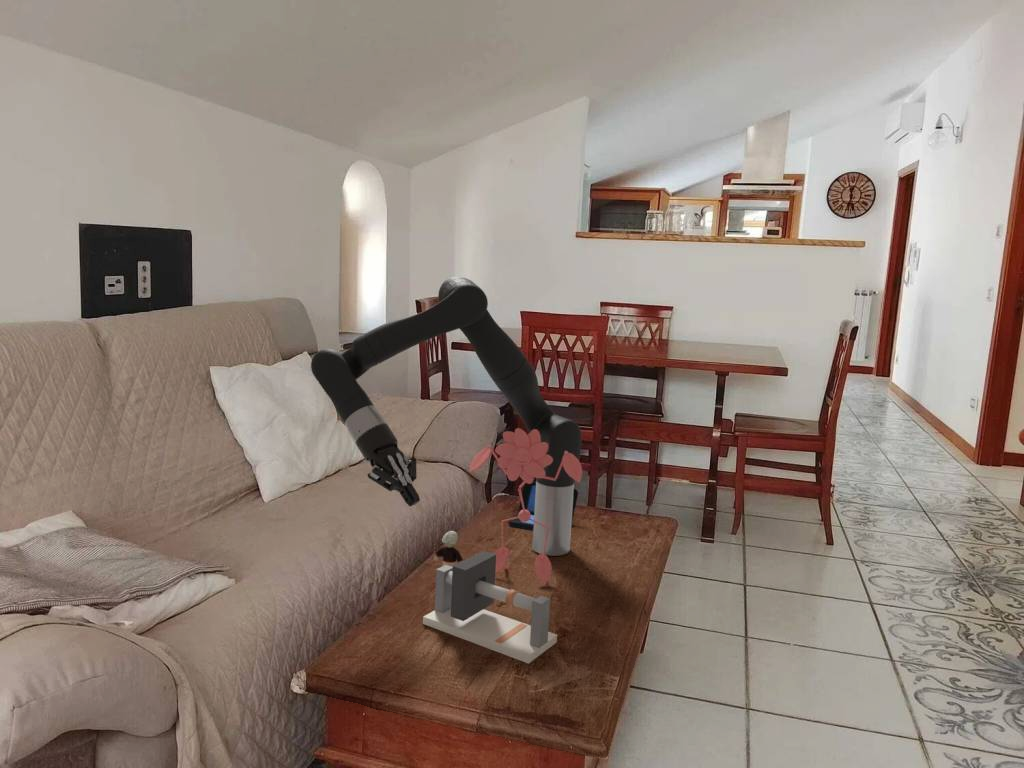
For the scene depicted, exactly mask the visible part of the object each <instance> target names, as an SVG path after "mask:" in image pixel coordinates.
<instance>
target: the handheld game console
mask: <svg viewBox="0 0 1024 768" xmlns="http://www.w3.org/2000/svg"><path fill="white" fill-rule="evenodd" d="M521 493H522V498H523V503H524V508H525V510H528V511H529V512H530V515H531V517H530V518H531V519H533V520H534V512H535V495H536V481H533V482H532V483H531V484H528V483H525V484H524V486H523V487H522V491H521ZM578 496H579V491H578V489H576V488H574V492H573V508H572V523H571V526H573V523H574V515H575V510H576V506H577V501H578ZM521 510H523V507H522V503H521V500H520V501H519V506H518V509H517V512H516V513H515V514H514V515H513V516H512V517H511V518H514V517H518V516H519V512H520V511H521ZM508 524H509V526H511V527H515V528H521V529H527V530H532V531H533V528H534V522H533V521H531V520H528V521H527V522H522V521H521V520H520V519H519V518H517V519H512V520H508Z"/></svg>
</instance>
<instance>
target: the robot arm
mask: <svg viewBox="0 0 1024 768" xmlns="http://www.w3.org/2000/svg"><path fill="white" fill-rule="evenodd" d="M437 298H438V303H436V304H434V305H433V306H431V307H429V308H428V309H426V310H423V311H422V312H419V313H416V314H413V315H410V316H407V317H402V318H399V319H395V320H392V321H389V322H387V323H384V324H382V325H379V326H377V327H374V328H373V329H371V330H369V331H367V332H365V333H363V334H361V335H360V336H357V337H356V338H355V339H354V340H353V341H352V343H351V346H350V348H348V349H347V350H345V351H344V352H343V353H340V352H339V351H337V350H335V349H331V348H323V349H320V350H319V351H317V352H316V353H315V354H314V355H313V357H312V359H311V362H310V369H311V373H312V374H313V376H314V378H315V379H316V382H318V384H319V385H320V386H321V388H322V390H323V391H324V392H325V394H326V395H327V396H328V398H329V399H330V401H331V402H332V404H333V406H334V408H335V411H336V413H337V414H338V415H339V417H340V419H341V420H342V422H343V424H344V425H345V427H346V429H347V431H348V432H347V433H348V434H349V435H350V437H351V439H352V440H353V443H355V446H356V447H357V449H358V450H359V452H360V453H361V455H362V457H363V458H364V460H365V461H366V462H369V463H370V466H371V470H370V471H369V473H367V478H368V479H370V480H372V481H373V482H375V483H376V484H378V485H380V486H381V487H382V488H384V489H386V490H387V491H389V492H393V491H396V492H398V493H399V494H400V496H401V497H402V499H403V500H404V502H405V504H407V505H408V507H413V506H415V505H418V503H419V502H420V501H421V498H420V495H419V494H418V492H417V490H416V488H415V487H414V485H413V482H415V480H417V477H418V476H417V458H416V457H415V456H411V457H407V456H405V454H404V452H403V451H402V450H401V449H400V448H399V447H398V443H399V440H398V438H397V436H396V435H395V434H394V432H393V431H392V430H391V427H390V426H389V425H388V423H387V421H386V420H385V419H384V417H383V415H382V414H381V413H380V411H379V410H378V409H377V408H376V406H375V405H374V403H373V402H372V400H371V398H370V397H369V395H368V394H367V392H366V391H365V390H364V389H363V388H362V386H361V385H360V384H359V382H358V381H357V380H358V379H359V378H360V377H361V376H363V375H365V374H366V373H367V372H368V371H369V370H370V369H371V368H373V367H376V366H377V365H379V364H381V363H383V362H385V361H387V360H389V359H391V358H393V357H395V356H397V355H398V354H401V353H403V352H404V351H407V350H409V349H411V348H412V347H415V346H417V345H419V344H421V343H424V342H426V341H429V340H430V339H434V338H436V337H439V336H442V335H444V334H446V333H450V332H452V331H457V330H460V331H461V332H462V334H463V335H464V336H465V338H467V340H468V341H469V344H471V346H472V349H473V350H474V352H475V354H476V356H477V358H478V359H479V362H480V364H482V365H483V367H484V369H485V371H486V372H487V373H488V376H489V377H490V378H491V380H492V381H493V382H494V384H495V385H496V387H497V388H498V389H499V391H500V392H501V393H502V395H504V397H505V398H506V400H507V401H508V402H509V404H510V405H511V407H512V408H513V409H514V410H515V411H516V413H517V414H518V415H519V417H520V419H521V421H522V423H523V424H524V425H525V428H526V429H527V431H528V434H529V433H530V432H531V431H532V430H533V429H537V430H538V431H539V433H540V436H541V442H546V443H547V444H548V450H547V454H548V455H550V456H551V457H552V458H553V462H552V463H551V464H550V465H548V466H545V467H542V468H543V469H544V470H545V474H546V475H545V476H547V477H551V478H555V476H556V474H557V471H558V469H559V466H560V464H561V462H562V457H563V456H564V452H565V451H568V453H571V454H573V455H574V456H575V457H576V458H577V459H578V460H579V462H580V460H581V450H582V442H583V440H582V439H583V437H582V431H581V427H580V426H579V424H578V423H577V422H576V421H574V420H571V419H569V418H566V417H563V416H560V415H558V414H556V413H555V412H554V411H553V409H552V408H551V406H549V405H548V403H547V402H546V400H544V398H543V396H542V394H541V392H540V387H539V386H540V385H539V382H538V381H539V380H538V376H537V373H536V371H535V369H534V367H533V365H532V364H531V362H530V361H529V360H528V358H527V357H526V355H525V354H524V353H523V351H522V350H521V349H520V347H519V346H518V345H517V344H516V343H515V342H514V340H513V339H512V338H511V337H510V336H509V335H508V334H507V333H506V332H505V330H504V329H502V328H501V327H500V325H499V324H498V323H497V321H496V320H494V318H493V317H492V315H491V313H490V312H489V311H488V306H489V303H488V297H487V295H486V293H485V291H483V289H482V288H481V287H480V286H479V285H478V284H476V283H474V281H473V280H470V279H469V278H466V277H463V276H451V277H449V278H447V279H446V280H444V281H443V282H442V284H441V285H440V287H439V290H438V297H437ZM535 480H536V481H535V482H536V495H535V512H534V520H535V521H537V522H539V523H541V524H543V525H545V526H547V527H549V532H548V537H547V543H546V548H545V553H544V554H545V555H546V556H553V557H554V556H555V557H556V556H563V555H567V554H569V552H570V550H571V538H572V537H571V536H572V535H571V533H572V525H571V523H572V519H573V518H572V508H573V492H574V489H575V480H574V479H573V478H571V477H570V476H569V475H568V474H567V473H566V471H565V470H564V467H563V465H562V468H561V470H560V473H559V475H558V477H557V479H556V481H554V480H549V479H544V478H536V479H535ZM572 524H573V523H572ZM547 529H548V528H546V527H544V526H541V525H539V524H537V523H535V522H534V528H533V530H532V544H531V545H532V546H531V547H532V550H533V551H534V552H535V553H537V554H541V555H542V553H543V549H544V544H545V539H546V534H547Z"/></svg>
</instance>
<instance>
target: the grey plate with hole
mask: <svg viewBox="0 0 1024 768" xmlns="http://www.w3.org/2000/svg"><path fill="white" fill-rule="evenodd" d="M495 569H496V554H494V553H492V552H489V551H485V550H483V551H481V552H478V553H477V554H474V555H473V556H471V557H468V558H466V559H465V560H464V559H463V561H462V562H460V563H458V562H457V564H456V565H454V566H453V571H452V595H451V617H453V618H456V619H459V620H461V621H465V620H466V619H468V618H470V617H471V616H473V615H475V614H476V613H478V612H480V611H481V610H483V609H484V610H486V609H487V608H489V607H490V606H491V605H493V604H494V603H495V599H493V598H490V597H487V596H484V595H481V594H478V593H475V581H477V580H480V581H484V582H487V583H490V584H493V585H496V582H495V581H496V574H495Z"/></svg>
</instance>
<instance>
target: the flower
mask: <svg viewBox="0 0 1024 768" xmlns="http://www.w3.org/2000/svg"><path fill="white" fill-rule="evenodd" d="M502 438H503V441H504V442H505V443H500V444H499V445H497V446H496V448H495V449H493V446H492V445H488V446H487V447H484V448H483V449H482V450H480V451H479V452H478V453H477V454H476V455H475V456H474V458H473V460H472V461H471V464H470V465H469V466H470V467H469V473H470V474H471V473H473V472H475V471H476V470H478V469H480V468H481V467H482V466H483V465H484V464H486V462H487V461H488V459H489V458H490V456H491V454H492V455H493V457H494V459H495V460H496V461H497V466H498V467H499V468H501V469H502V470H503V472H504V474H505V476H506V477H507V478H508V480H509V481H510V482H514V481H517V480H518V478H519V477H520V478H521V479H522V481H523V482H522V483H521V484H520V485H519V486H518V489H517V491H518V495H519V499H520V501H521V503H522V507H523V510H521V511H520V512H519V516H518V517H514V518H512V517H511V518H507V519H503V520H501V525H500V526H501V527H500V528H501V546H500V547H499V548H497V549H496V550H495V551H494V552H493V554H496V569H495V575H496V574H497V573H499V572H500V571H501V570H503V568H504V569H505V570H508V566H507V564H508V563H507V562H508V559H509V554H510V551H509V549H508V547H506V546H504V522H507V521H508V522H509V520H512V519H517V518H519V519H520V520H521V521H522V522H527V521H528V520H531V521H533V522H535V523H537V524H539V525H541V526H544V527H546V528H548V529H547V534H546V539H545V544H544V549H543V553H542V554H540V553H538V555H537V556H536V558H535V562H534V571H535V574H536V576H538V578H539V579H540V581H541V582H542V583H543V584H544V585H546V584H547V583H548V581H549V579H550V577H551V574H552V563H551V561H550V559H549V557H548V555H545V554H544V553H545V548H546V543H547V537H548V532H549V527H547V526H545V525H543V524H541V523H539V522H537V521H535V520H533V519H531V518H530V517H531V515H530V512H529V511H528V510H525V508H524V503H523V498H522V489H523V488H524V484H525V483H528V484H531V483H532V482H534V480H535V478H544V479H549V480H554V481H556V479H557V477H558V475H559V473H560V470H561V468H562V465H563V467H564V470H565V471H566V473H567V474H568V475H569V476H570V477H571V478H573V479H574V481H575V482H577V483H581V482H582V476H583V467H582V464H581V462H580V461H579V460H578V459H577V458H576V457H575V456H574V455H573V454H571V453H568V451H565V452H564V456H563V457H562V462H561V464H560V466H559V469H558V471H557V474H556V476H555V478H551V477H547V476H545V475H546V474H545V470H544V469H543V468H542V467H545V466H548V465H550V464H551V463H552V462H553V458H552V457H551V456H550V455H548V452H547V450H548V444H547V443H546V442H541V436H540V433H539V431H538V430H537V429H533V430H532V431H531V432H530V433H529V432H528V433H526V431H524V429H522V428H520V427H517V428H515V429H514V431H510V430H509V431H508V430H506V431H504V432H503V433H502ZM498 456H499V457H498ZM554 596H555V594H553V595H548V596H546V597H548V598H551V597H554Z"/></svg>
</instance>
